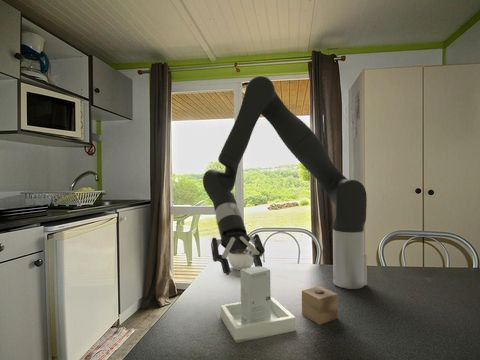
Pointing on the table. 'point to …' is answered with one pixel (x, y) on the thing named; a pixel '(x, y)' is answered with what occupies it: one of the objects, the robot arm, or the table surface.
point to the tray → (244, 332)
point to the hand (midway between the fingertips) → (244, 271)
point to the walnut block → (319, 304)
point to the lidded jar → (240, 260)
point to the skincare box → (255, 294)
